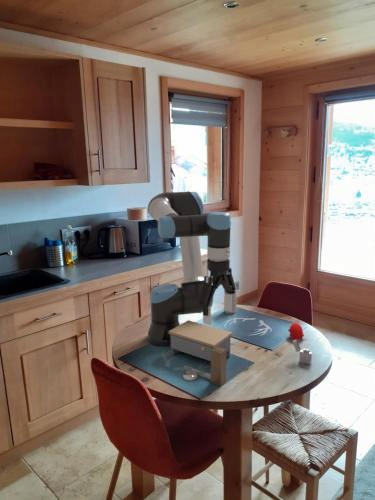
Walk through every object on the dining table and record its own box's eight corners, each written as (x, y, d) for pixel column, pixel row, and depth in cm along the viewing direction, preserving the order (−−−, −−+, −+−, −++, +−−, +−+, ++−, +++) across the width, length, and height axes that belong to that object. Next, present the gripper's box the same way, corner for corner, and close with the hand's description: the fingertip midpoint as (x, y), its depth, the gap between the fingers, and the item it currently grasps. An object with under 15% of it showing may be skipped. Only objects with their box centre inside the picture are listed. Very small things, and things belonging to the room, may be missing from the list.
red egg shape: (288, 325, 169) (285, 323, 164) (301, 322, 168) (299, 320, 162) (292, 344, 166) (289, 342, 161) (306, 341, 164) (304, 339, 159)
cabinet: (167, 355, 151) (167, 332, 149) (188, 342, 162) (188, 320, 160) (212, 371, 139) (213, 346, 137) (232, 356, 150) (232, 332, 148)
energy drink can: (237, 313, 192) (238, 285, 189) (226, 314, 191) (226, 286, 188) (233, 309, 198) (234, 281, 195) (222, 310, 197) (222, 282, 194)
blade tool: (181, 371, 139) (181, 340, 137) (187, 367, 142) (187, 337, 140) (220, 386, 130) (221, 353, 127) (226, 381, 133) (226, 349, 130)
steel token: (180, 378, 136) (180, 375, 136) (189, 372, 139) (189, 369, 139) (191, 382, 133) (190, 380, 132) (200, 376, 136) (199, 374, 136)
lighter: (311, 362, 144) (312, 343, 143) (310, 364, 143) (311, 344, 141) (292, 357, 148) (293, 338, 146) (291, 359, 147) (292, 340, 145)
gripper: (207, 269, 117) (206, 332, 122) (246, 252, 137) (244, 308, 142) (187, 265, 122) (187, 326, 127) (228, 249, 141) (227, 303, 146)
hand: (217, 317), depth 134 cm, fingers open, 13 cm apart
